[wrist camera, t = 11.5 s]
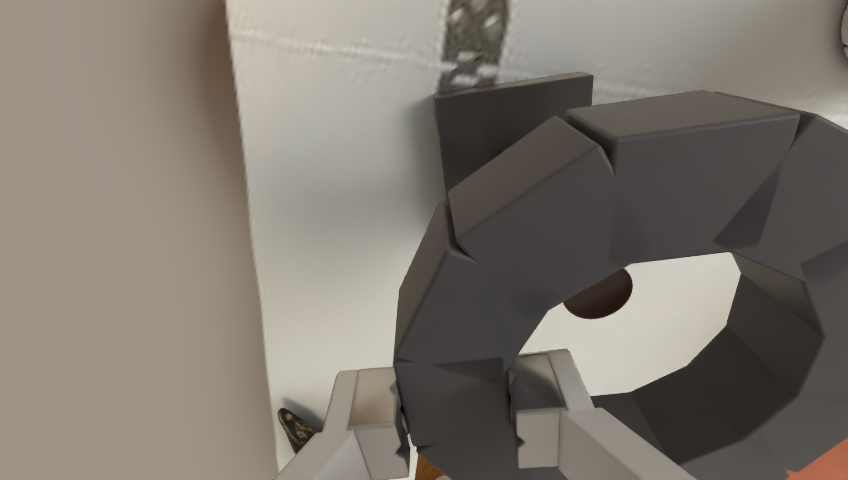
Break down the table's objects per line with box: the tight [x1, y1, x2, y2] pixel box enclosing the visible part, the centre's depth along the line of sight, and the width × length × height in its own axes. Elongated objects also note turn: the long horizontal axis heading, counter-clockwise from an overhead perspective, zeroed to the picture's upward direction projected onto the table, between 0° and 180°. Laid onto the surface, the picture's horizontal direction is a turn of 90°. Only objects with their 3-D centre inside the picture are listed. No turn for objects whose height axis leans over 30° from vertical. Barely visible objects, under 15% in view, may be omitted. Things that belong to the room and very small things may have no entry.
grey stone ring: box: [393, 90, 848, 480], centre depth 10 cm, size 11×11×2 cm
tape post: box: [434, 72, 633, 319], centre depth 17 cm, size 8×8×14 cm
